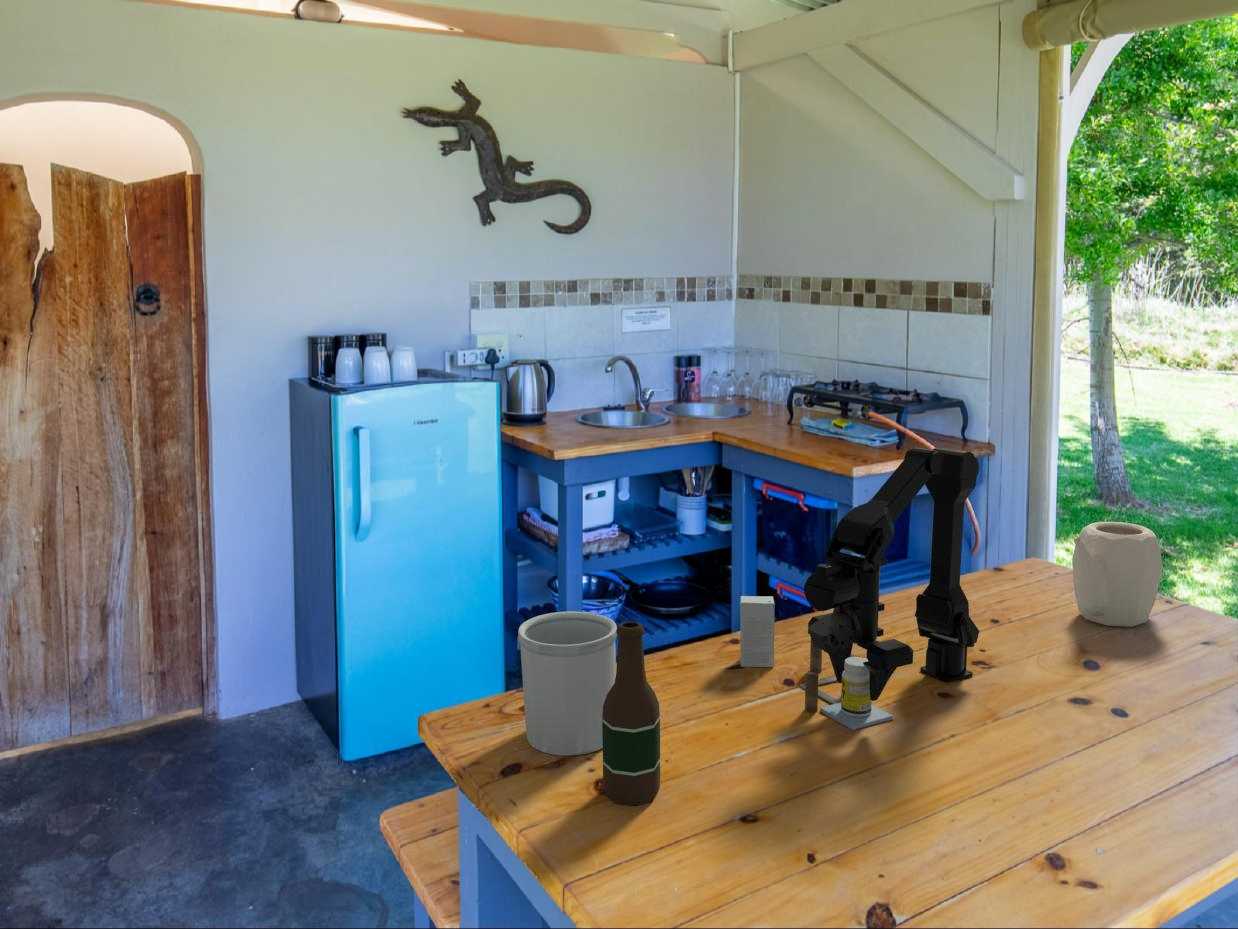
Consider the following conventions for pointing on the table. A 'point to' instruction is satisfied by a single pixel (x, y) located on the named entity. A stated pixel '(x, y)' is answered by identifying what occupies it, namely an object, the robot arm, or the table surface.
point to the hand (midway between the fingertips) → (857, 691)
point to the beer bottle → (631, 726)
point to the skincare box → (757, 631)
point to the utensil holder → (567, 679)
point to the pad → (856, 722)
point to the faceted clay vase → (1116, 573)
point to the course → (817, 681)
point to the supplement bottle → (855, 688)
